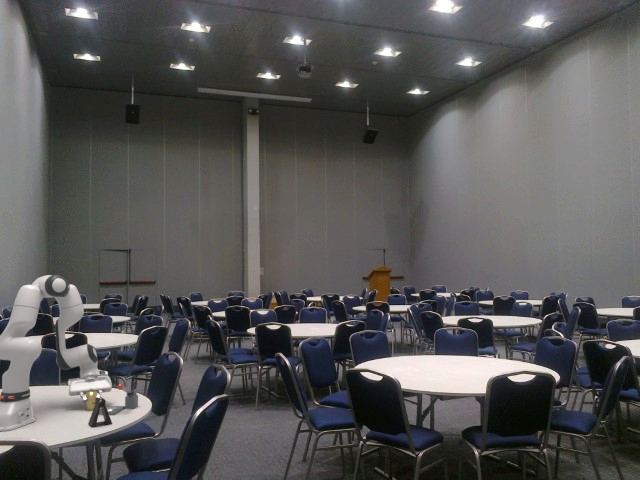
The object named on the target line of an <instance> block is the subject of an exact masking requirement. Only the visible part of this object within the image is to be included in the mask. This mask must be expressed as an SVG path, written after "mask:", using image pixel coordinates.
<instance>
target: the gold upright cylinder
mask: <svg viewBox="0 0 640 480" xmlns="http://www.w3.org/2000/svg"><path fill="white" fill-rule="evenodd" d="M97 395H98V393H97V391H93V388H90V391H87V392H86V394H85V397H86V402H85V411H86V412H93V409H94V406H95V399H96V397H97Z"/></svg>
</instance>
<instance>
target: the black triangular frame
mask: <svg viewBox="0 0 640 480" xmlns="http://www.w3.org/2000/svg"><path fill="white" fill-rule="evenodd" d="M106 406H107V405H106V399H104V398H103V397H102V396H100V398H99V397H96V399H95V406H94V409H93V411H91V416H90V417H89V419H88V426H89V427H91V429H92V428H98V427H103V426H109V425H113V422H112V419H111V417H110V416H111V415H109V414H108V411H107V408H106ZM100 409H101V410H102V413H103V415H102V417H103V420H102V421H98V419H99V416H100V415H99V412H100Z"/></svg>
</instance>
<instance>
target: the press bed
mask: <svg viewBox="0 0 640 480" xmlns="http://www.w3.org/2000/svg"><path fill="white" fill-rule="evenodd" d="M105 406H106V408H107V411H108V414H109V416H116V415H117V414H119V413H120V412H122V411H124V410H126V409H125V405H105ZM98 416H103V413H102V410H101V408H100V412H99V415H98Z"/></svg>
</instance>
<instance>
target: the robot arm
mask: <svg viewBox="0 0 640 480" xmlns="http://www.w3.org/2000/svg"><path fill="white" fill-rule="evenodd" d="M44 298H45V299H47V298H48V299H50V298H54V299H55V301H56V302H57V305H58V310H59V317H58V318H57V319H56V321H55V326H54V327H55V333H54V334H55V346H56V347H55V348H56V359H55V361H56V365H57V367H58V368H59V369H61V370H64V371H68V370H71V369H73V368H76V367H79V369H80V370H79V377H76V378H73V377H72V378H70V379H68V381H67V386H68V395H69V396H70V397H74V396H80V398H81V400H82V402H83V403H86V392H87V391H90V388H93V391H97V397H99V398H100V397H102V394H103V393H109V392H111V391H112V389H113V384H112V380H111V377H110V376H109V372H108V371H107V370H101V369H98V364H99V362H98V359H99V358H98V351H97V349H96V347H95V346H94V345H92V344H90V343H87V344H83V345H79V346H75V347H72V348H67V346H66V331H67V330H68V329H69V328H71V327H72V326H74V325H75V324H77V322H79V321H80V320H81V319H82V318H83V316H84V314H85V313H84V312H85V310H84V305H83V300H82V298H81V295H80V293H79V290H78V288H77V286H75V285H74V284H70V283H69V282H68V281H67V279H66V278H65V277H63V276H61V275H59V274H53V275H51V274H48V275H43V276H38V277H36V278H35V279H34V280H33V281H32V282H31V283H30V284H25V285H22V286H21V287H20V288H19V289H18V292H17V294H16V296H15V299H14V303H13V307H12V310H11V314H10V317H9V321H8V323H7V325H6V327H5V329H4V330H3V331H2V333H1V334H0V360H2V361H10V364H9V367H8V369H7V370H6V371H4V373H3V374H2V377H1V378H2V380H1V384H2V385H1V387H2V389H1V392H0V432H5V431H6V432H7V431H13V430H15V429H18V428H22V427H23V426H26V425H29V424H31V423H33V422H36V418H35V417H34V411H33V410H34V409H33V402H32V401H31V400H30V397H31V389H30V377H31V376H30V374H31V373H30V372H31V371H32V370H31V369H32V367H33V364H34V362H35V361H36V360H37V359H38V358H39V357H40V355H41V354H42V351H43V350H42V349H43V347H42V343H41V342H40V341H39V340H37V339H35V338H33V337H32V338H31V337H28V336H26V335H27V333H28V332H29V331H30V330H32V329H33V328H34V327H35V325H36V324H37V323H36V322H37V318H38V314H39V310H40V306H41V303H42V300H43V299H44ZM100 399H101V398H100Z"/></svg>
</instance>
